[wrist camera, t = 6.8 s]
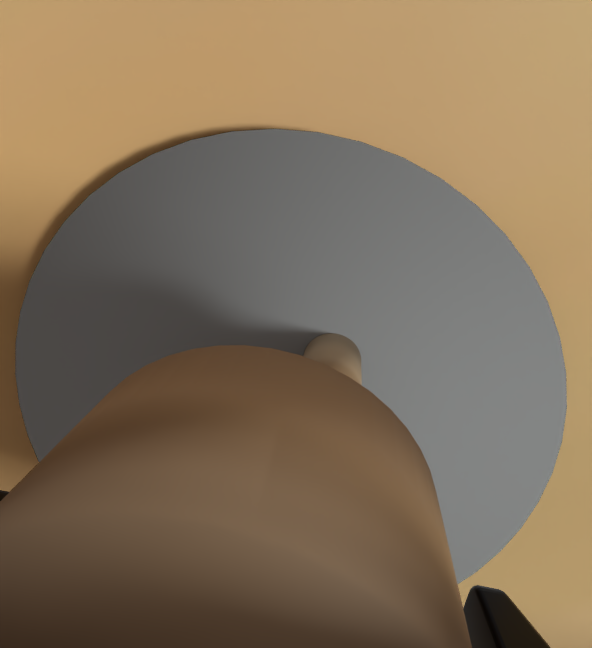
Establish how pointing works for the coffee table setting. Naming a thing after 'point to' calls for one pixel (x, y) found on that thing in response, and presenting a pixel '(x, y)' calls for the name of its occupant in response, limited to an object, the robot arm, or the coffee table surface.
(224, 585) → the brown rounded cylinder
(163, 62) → the coffee table surface
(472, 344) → the felt mat
